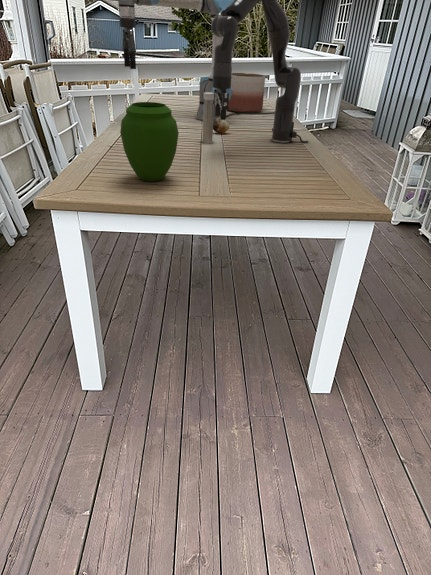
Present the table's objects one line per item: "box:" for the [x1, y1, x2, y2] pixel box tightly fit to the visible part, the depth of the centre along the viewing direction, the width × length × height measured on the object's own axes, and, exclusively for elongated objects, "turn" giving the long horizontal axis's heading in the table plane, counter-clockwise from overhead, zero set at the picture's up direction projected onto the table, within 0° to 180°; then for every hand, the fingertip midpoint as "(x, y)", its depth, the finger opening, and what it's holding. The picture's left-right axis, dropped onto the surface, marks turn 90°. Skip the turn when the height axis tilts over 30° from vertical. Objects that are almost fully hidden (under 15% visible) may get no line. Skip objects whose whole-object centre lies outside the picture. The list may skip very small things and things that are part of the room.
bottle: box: [201, 100, 214, 145], centre depth 192 cm, size 5×5×21 cm
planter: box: [227, 72, 266, 113], centre depth 276 cm, size 25×25×22 cm
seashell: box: [213, 118, 230, 134], centre depth 214 cm, size 10×6×8 cm, turn 97°
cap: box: [204, 92, 214, 100], centre depth 187 cm, size 5×5×2 cm
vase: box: [119, 101, 179, 182], centre depth 140 cm, size 20×20×24 cm
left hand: (130, 67), depth 208 cm, fingers open, 13 cm apart
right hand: (220, 117), depth 173 cm, fingers open, 8 cm apart
